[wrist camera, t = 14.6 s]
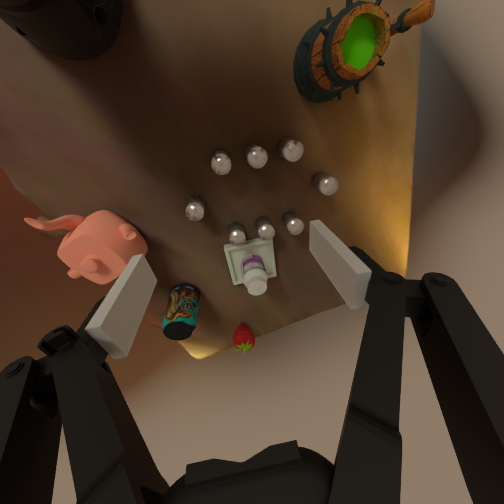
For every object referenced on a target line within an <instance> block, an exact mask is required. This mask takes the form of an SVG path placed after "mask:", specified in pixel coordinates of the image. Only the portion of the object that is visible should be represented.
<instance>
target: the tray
mask: <svg viewBox="0 0 504 504" xmlns="http://www.w3.org/2000/svg"><path fill="white" fill-rule="evenodd" d="M224 251H225V254H226V258H227V262H228V266H229V269H230V273H231V277H232V281H233V284H234V285H236V284H241V283H243V278H242V271H241V264H240V262H241V259H242V258H243V257H244V256H245V255H246V254H248V253H256V254H258V255H260V256H261V258H262V260H263V263H264V266H265V270H266V273H267V276H268V278H271V277H276V267H275V258H274V249H273V239H271V240H267V241H265V240H262V239H261V238H257V239H252V240H247V241H245V243H244V244H243V245H241V246H234V245H232V244H226V245H224Z"/></svg>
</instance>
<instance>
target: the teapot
mask: <svg viewBox="0 0 504 504" xmlns="http://www.w3.org/2000/svg"><path fill="white" fill-rule="evenodd" d="M24 220H25V222H27V223H28V224H29V225H31V226H33V227H35V228H38V229H41V230H47V231H48V230H55V229H59V228H62V229H66V230H69V231H70V232H69V233H68V234H67V235H66V236H65V237H64V239H63V241H62V243H61V245H60V247H59V250H58V253H57V254H58V256H59V258H60V259H61V260H62V261H63V262H64V263H65V264H66V265H68V266H69V267H70V268H71V269H70V270H69V271H68V275H69V276H70V277H72V278H75V279H76V278H78V277H80V276H84V277H85V278H87V279H89V280H91V281H93V282H95V283H98V284H107V283H109V282H111V281H112V280H114V279H116V278H118V277H119V276H120V275H121V273H122V272H123V270H124V269H125V267H126V266H127V264H128V263H129V261H130V260H131V258H132V257H133V256H134V255H139V254H143V255H144V256H145V255H146V253H147V252H148V246H147V243H146V241H145V240H144V238H143V237H142V236H141V234H140V233H139V232H138V230H137V229H136V228H135V227H134V226H132V225H131V224H130V223H129V222H127V221H126V220H125V219H123V218H122V217H120V216H119V215H117V214H116V213H114V212H112V211H108V210H100V211H96V212H94V213H93V214H91V215H89V216H87V217H83V216H79V215H66V216H62V217H60V218H57V219H54V220H51V221H39V220H35V219H31V218H24Z"/></svg>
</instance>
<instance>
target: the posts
mask: <svg viewBox="0 0 504 504" xmlns="http://www.w3.org/2000/svg"><path fill="white" fill-rule="evenodd" d="M277 151H278V154H279V155H280V156H281V157H283V158H285V159H286V160H288V161H290V162H296V161H298V160H299V159H300V158H301V157H302V155H303V151H304V148H303V145H302V143H301V142H300V141H298V140H293V139H289V138H284V139H282V140H281V141H280V142H279V144H278V146H277ZM245 157H246V159H247V161H248V162H249V164H250V165H251V166H252V167H253V168H262V167H263V166H264V165H265V164H266V162H267V159H268V156H267V152H266V151H265V150H264V149H263V148H262V147H260V146H258V145H256V144H251V145H249V146H248V147H247V148H246V151H245ZM211 166H212V169H213V171H214V172H215V173H216V174H218V175H225V174H227V173H228V172H229V171H230V169H231V160H230V157H229V155H228V153H227V152H225V151H223V150H218V151H216V152H215V153H214V155H213V157H212V162H211ZM311 184H312V186H313V187H314V188H316V189H317V190H318V191H320V192H321V193H323V194H324V195H327V196H329V195H332V194H334V193H335V192H336V191H337V189H338V186H339V183H338V181H337V179H335V178H333V177H331V176H329V175H327V174H325V173H323V172H318V173H316V174H315V175H314V176H313V177H312V180H311ZM204 210H205V200H204V199H203V198H202V197H200V196H193V197H191V198H190V200H189V202H188V205H187V207H186V210H185V214H186V216H187V217H188V218H189V219H190V220H192V221H199V220H201V219H202V218H203V215H204ZM282 221H283V223H284V224H285V226H286V227H287V229H288V231H289V232H290V233H291V234H292V235H298V234H300V233H301V232H302V231H303V229H304V224H303V222H302V221H301V220H300V219H299V217H298V216H297V215H296V214H295V213H294V212H293V211H288V212H286V213H285V214H284V215H283V217H282ZM256 227H257V230H258V233H259V236H260V238H261V239H262V240H265V241H267V240H271V239H272V238H273V237H274V235H275V230H274V228H273V226H272V224H271V222H270V220H269V219H268V218H267V217H265V216H262V217H259V218H258V219H257V220H256ZM229 240H230V243H231V244H232V245H234V246H241V245H243V244H244V243H245V240H246V238H245V233H244V229H243V225H242V224H241V223H240V222H233V223H231V224H230V225H229Z"/></svg>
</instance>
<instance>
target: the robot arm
mask: <svg viewBox="0 0 504 504" xmlns="http://www.w3.org/2000/svg"><path fill="white" fill-rule="evenodd" d="M121 11H122V2H121V0H0V18H1V19H2V20H3V21H4V22H5V23H6V24H8V25H9V26H10V27H11V28H12V29H13V30H15V31H16V32H17V33H18V34H20V35H21V36H22V37H24V38H25V39H27V40H28V41H30V42H32V43H33V44H35V45H37V46H38V47H40V48H42V49H45V50H47V51H49V52H52V53H54V54H56V55H59V56H62V57H65V58H69V59H74V60H86V59H91V58H94V57H97V56H99V55H101V54H102V53H104V52H105V51H106V50H107V49H108V48H109V47H110V46H111V44H112V43H113V41H114V39H115V37H116V35H117V33H118V29H119V26H120V21H121ZM309 250H310V252H311V253H312V255H313V256H314V258H315V259H316V261H317V262H318V263H319V265H320V266H321V268H322V269H323V271H324V272H325V273H326V275H327V276H328V278H329V279H330V281H331V282H332V284H333V285H334V286H335V288H336V289H337V291H338V292H339V294H340V295H341V296H342V298H343V299H344V301H345V302H346V304H347V305H348V306H349V308H350V309H351V310H353V309H358V308H363V307H364V303H365V300H366V302H367V303H368V304H369V305H370V306H369V310H368V314H367V319H366V324H365V328H364V333H363V337H362V342H361V346H360V351H359V356H358V360H357V365H356V369H355V373H354V379H353V383H352V387H351V392H350V396H349V401H348V405H347V410H346V414H345V419H344V423H343V428H342V432H341V437H340V441H339V445H338V449H337V454H336V458H335V463H334V465H333V464H332V463H331V462H330V461H329V460H327V459H326V458H325V457H323V456H322V455H320V454H319V453H317V452H315V451H313V450H310V449H307V448H304V447H298V445H297V441H296V440H294V441H289V442H285V443H281V444H276V445H272V446H269V447H267V448H266V449H264V450H263V451H261V452H259V453H258V454H256V455H254V456H253V457H251V458H250V459H248V460H246V461H245V462H241V463H240V462H233V461H227V460H220V459H210V460H205V461H201V462H196V463H192V464H188V465H187V466H186V474H185V475H183V476H182V477H181V478H179V479H178V480H177V481H176V482H175V483H174V484H173V485H172V486H171V487H169V485H168V484H167V482H166V481H165V479H164V478H163V477H162V476H161V474H160V473H159V471H158V469H157V467H156V465H155V463H154V461H153V459H152V457H151V454H150V452H149V450H148V448H147V446H146V444H145V442H144V440H143V437H142V435H141V433H140V431H139V429H138V427H137V425H136V422H135V420H134V418H133V416H132V414H131V412H130V410H129V408H128V405H127V404H126V401H125V399H124V397H123V395H122V393H121V391H120V389H119V386H118V385H117V382H116V380H115V378H114V376H113V374H112V371H111V369H110V367H109V365H108V363H107V362H105V359H106V357H107V355H108V354H109V356H111V358H112V359H119V358H124V357H127V356H128V353H129V351H130V348H131V345H132V343H133V341H134V338H135V336H136V333H137V331H138V328H139V325H140V323H141V320H142V318H143V316H144V313H145V311H146V308H147V306H148V303H149V301H150V298H151V296H152V293H153V291H154V288H155V286H156V283H157V279H156V277H155V275H154V273H153V271H152V270H151V268H150V266H149V264H148V262H147V260H146V258H145V257H144V255H143V254H139V255H134V256H133V257H132V258H131V260H130V261H129V263H128V264H127V266H126V267H125V269H124V270H123V272H122V273H121V275H120V276H119V278H118V279H117V281H116V283H115V284H114V286H113V287H112V288H111V290H110V291H109V293H108V295H107V296H105V297H103V298H102V299H100V300H99V301H98V302H97V303H96V304H95V306H94V307H93V309H92V311H91V312H90V313H89V314H88V317H86V319H85V320H84V322H83V323H82V325H81V326H80V328H79V329H78V330H77V332H75V331H74V330H73V329H72V328H71V327H70V326H67V325H64V326H61V327H58V328H56V329H54V330H52V331H51V332H49V333H48V334H46V335H45V336H44V337H43V338H42V339H41V341H40V342H39V343H38V348H39V349H40V350H41V351H43V352H44V353H45V354H47V356H46V357H43V358H41V359H39V360H34V359H33V358H32V357H30V356H26V357H22V358H20V359H17V360H16V361H14V362H12V363H10V364H9V365H8V366H7V367H5V368H4V369H3V370H2V371H1V372H0V504H51V503H52V495H53V488H54V480H55V473H56V465H57V458H58V450H59V442H60V435H61V428H62V424H63V429H64V434H65V439H66V445H67V450H68V455H69V460H70V466H71V471H72V475H73V481H74V487H75V491H76V497H77V503H76V504H400V490H401V467H402V437H401V434H400V432H399V411H400V393H401V376H402V356H403V340H404V322H405V317H410V318H411V321H412V324H413V327H414V330H415V333H416V336H417V339H418V342H419V345H420V348H421V351H422V354H423V357H424V360H425V363H426V366H427V369H428V372H429V375H430V378H431V381H432V384H433V387H434V390H435V393H436V396H437V399H438V402H439V405H440V408H441V411H442V414H443V417H444V420H445V423H446V426H447V429H448V432H449V435H450V438H451V441H452V443H453V447H454V450H455V453H456V456H457V459H458V462H459V464H460V468H461V471H462V474H463V476H464V479H465V482H466V485H467V488H468V491H469V494H470V496H471V499H472V501H473V504H504V354H503V353H502V351H501V350H500V348H499V347H498V345H497V344H496V342H495V341H494V339H493V337H492V336H491V334H490V333H489V331H488V330H487V328H486V327H485V325H484V324H483V322H482V321H481V319H480V318H479V316H478V315H477V313H476V312H475V310H474V308H473V307H472V305H471V304H470V302H469V301H468V299H467V298H466V296H465V295H464V293H463V292H462V290H461V289H460V287H459V286H458V284H457V283H456V282H455V280H454V279H452V278H450V277H449V276H447V275H444V274H441V273H435V272H432V273H426V274H424V275H423V277H422V280H407V279H404V278H403V277H402V276H401V275H399V274H397V273H393V272H386V271H385V270H384V269H383V268H382V267H381V266H379V265H378V264H377V263H376V262H375V261H374V260H373V259H371V257H369V256H368V255H367V254H366V253H365V252H364V251H363V250H362V249H359V248H357V247H355V246H353V247H347V246H346V245H345V244H344V243H343V242H342V241H341V240H340V239H339V238H338V237H337V236H336V235H335V234H334V233H333V232H332V231H330V230H329V229H328V228H327V227H326V226H325V225H324V224H323V223H322V222H321V221H320V220H313V221H310V241H309Z"/></svg>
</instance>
